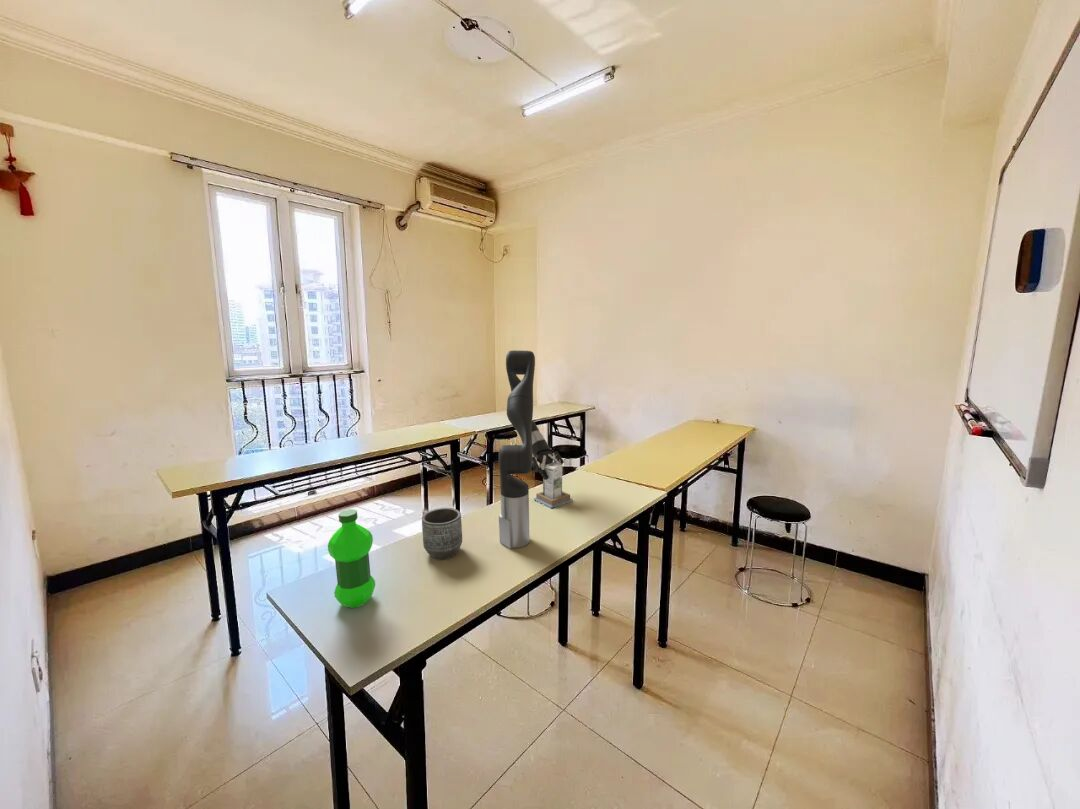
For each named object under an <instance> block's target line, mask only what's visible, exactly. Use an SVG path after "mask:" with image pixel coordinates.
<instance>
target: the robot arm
mask: <svg viewBox="0 0 1080 809" xmlns="http://www.w3.org/2000/svg"><path fill="white" fill-rule="evenodd" d="M535 367H536V356H535V354H534V352H533V351H531V350H517V349H516V350H515V349H513V350H509V351H508V352H507V353H506V356H505V369H506V370H505V371H506V374H507V380H508V384H509V386H510V390H511V391H510V394H509V395H508V397H507V401H506V402H507V403H506V416H507V419H508V421H509V422H510V424H511V426H512V427H513V428H514V429H515V431H516V432H517V434H518V436H519V438H520V440H521V443H522V444H511V445H510V444H507V445H506V444H505V445H502V446H500V447H499V450H498V468H499V469H498V470H499V478H500V479H499V480H500V481H499V483H500V484H499V485H500V515H498V528H499V529H498V531H499V534H498V535H499V543H500V544H502V545H503V546H504V547H506V548H508V550H511V549H518V548H522V547H525V546H527V545H529V543H530V541H531V540H530V539H531V538H530V504H529V503H530V500H529V499H530V497H529V484H528V483H527V482H526V481H524V480H523V479H519V478H517V477H515V476H514V475H516V474H517V475H520V474H522V475H524V474H529V473H530V472H531V470H532V468H533V471H534V472H535V473H540V475H541V477H542V480H543V479H545V480H547V479H548V478H549V477H548V475H547V473H546V471H545V470H544V466H545V465H547V464H550V463H556V464H559V465H562V476H563V475H564V474H565V470H564V467H563V464H564V463H565V462H564V459H563V458H562V456H561V455H560V453H559V451H557V450H556V451H554V452H552V451H551V447H550V446H549V444H548V442H547V440H546V438H545V437H544V435H543V434H542V432H541V431H540V429H539V427H538V426H537V424H536V422H535V421H533V416H534V415H533V414H534V379H535V371H536V370H535V369H536V368H535ZM518 375H519V376H520V375H521V376H523V377H522V379H520V378H519V376H518Z"/></svg>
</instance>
